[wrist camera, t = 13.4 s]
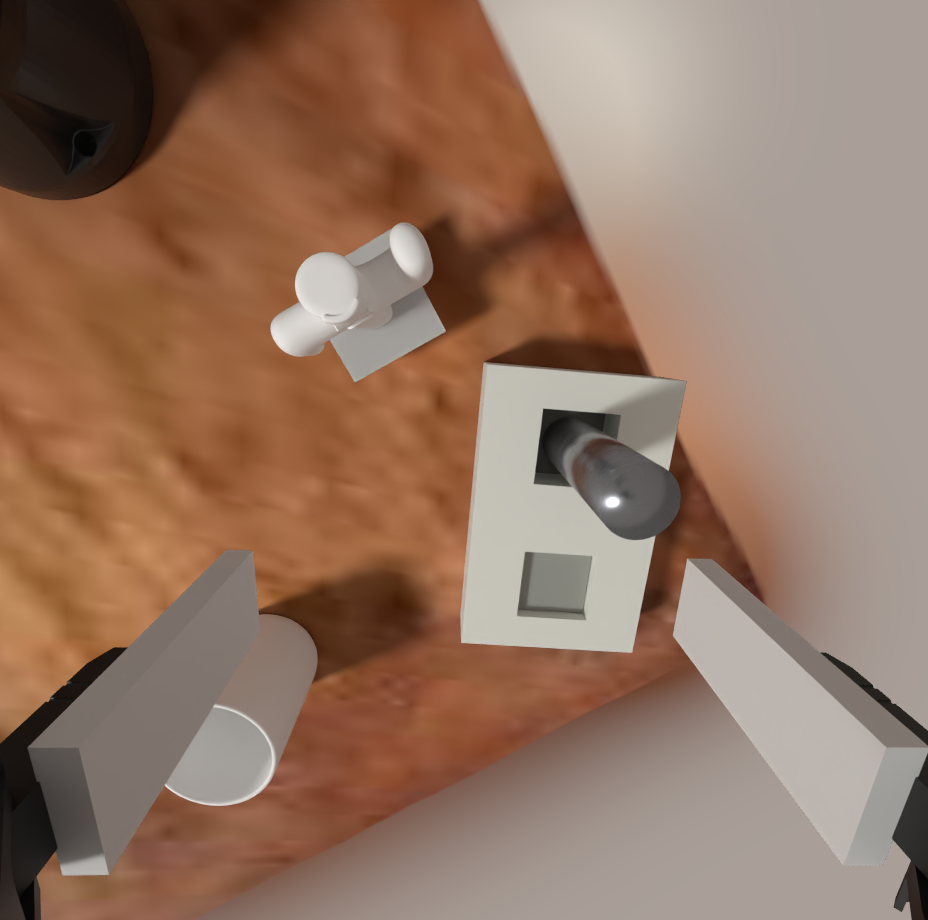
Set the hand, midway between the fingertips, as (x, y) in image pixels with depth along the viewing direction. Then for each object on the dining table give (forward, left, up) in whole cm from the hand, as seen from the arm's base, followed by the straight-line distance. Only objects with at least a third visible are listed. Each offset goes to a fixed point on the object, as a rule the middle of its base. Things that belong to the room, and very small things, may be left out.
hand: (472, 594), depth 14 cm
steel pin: (-1, +8, -22) cm, 24 cm away
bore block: (+5, +8, -24) cm, 25 cm away
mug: (+22, -17, -24) cm, 36 cm away
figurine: (-9, -7, -24) cm, 26 cm away
